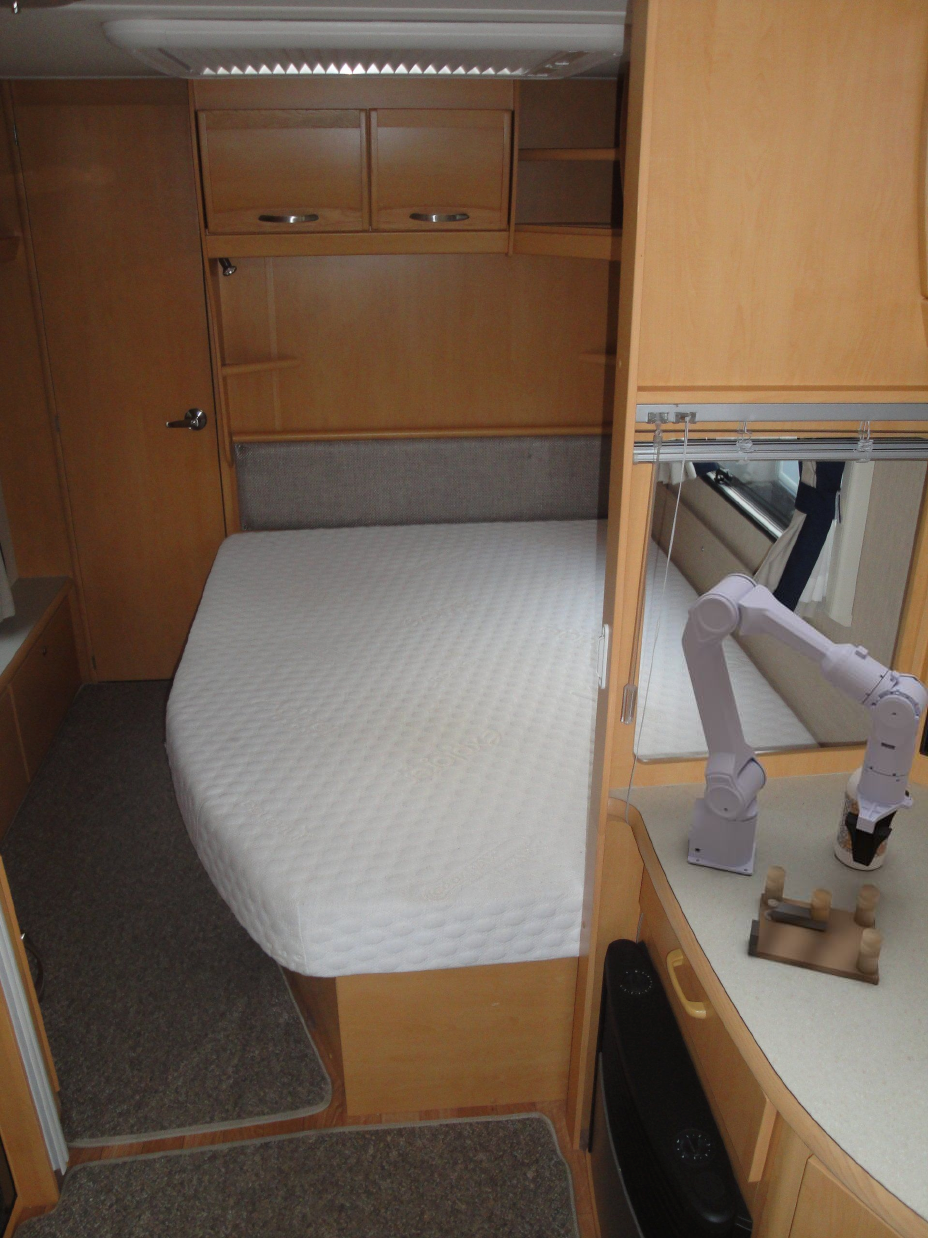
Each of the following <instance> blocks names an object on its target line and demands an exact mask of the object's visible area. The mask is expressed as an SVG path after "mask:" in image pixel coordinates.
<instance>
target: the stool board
mask: <svg viewBox="0 0 928 1238" xmlns="http://www.w3.org/2000/svg"><path fill="white" fill-rule="evenodd" d="M786 875H787V871H786V870H785V869H784V867H781V866H779V865H771V866H769V867H768V868H767V874H766V881H765V886H764V892H761V895H760V904H759V915H758V920H757V919H754V918H753V919H752V920H751V927H750V932H749V938H748V939H749V940H748V948H747V949H748V950H747V955H748V956H750V957H756V958H760V959H765V960H769V961H773V962H777V963H782V964H786V965H790V966H794V967H798V968H802V969H808V970H812V971H816V972H819V973H820V972H821V973H826V974H830V975H834V976H837V977H844V978H847V979H852V980H855V981H861V982H865V983H868V984H873V985H876V986H879V982H880V973H879V970H880V969H879V961H880V960H879V958H880V955H881V950H882V947H883V942H884V935H883V933H882V932H881V931H880V930H877V928H876V911H877V907H878V902H879V897H880V894H881V893H880V889H879V888H878V887H877V886H875V885H873V884H870V883H869V884H868V883H864V884H862V885H861V886H860V888H859V894H858V897H857V902H856V909H855V912H854V911H850V910H845V909H840V908H835V907H830V912H829V917H828V919H827V924H826V929H825V931H824V930H819V929H814V928H810V927H805V926H801V925H796V924H791V923H787V922H782V921H778V920H773V919H771V913H772V908H770V907H769V906H768V900H769V899H775V900H777V901H778V902H783V903H787V904H792V905H797V906H802V907H806V908H811V903H812V902H808V901H807V902H806V901H802V900H797V899H793V898H788V897H783V894H784V888H785V881H786V877H787V876H786Z"/></svg>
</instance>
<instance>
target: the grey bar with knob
mask: <svg viewBox="0 0 928 1238" xmlns="http://www.w3.org/2000/svg"><path fill="white" fill-rule="evenodd" d="M832 901H833V894H832V892H831V891H829V890H827V889H825V888H815V889H814V890H813V893H812V898H811V902H810V903H811V908H806V907H802V906H797V905H792V904H787V903H783V902H778V901H777V900H775V899H769V900H768V906H769V907H770V908H772V913H771V919H773V920H778V921H782V922H787V923H791V924H796V925H801V926H805V927H810V928H814V929H819V930H824V931H825V929H826V924H827V919H828V917H829V912H830V907H831V906H832ZM831 908H832V907H831Z"/></svg>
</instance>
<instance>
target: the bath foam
mask: <svg viewBox="0 0 928 1238" xmlns="http://www.w3.org/2000/svg"><path fill="white" fill-rule="evenodd" d="M862 766H863V764H862V765H861V766H860V767H858V768H857V769H856V770H855V771H854V772H853V773H852V775H851V776H850V777H849V779H848V782H847V784H846V787H845V791H844V797H843V801H842V802H843V803H842V807H841V811H840V813H841V814H840V819H839V824H838V829H837V835H836V839H835V840H836V841H835V847H834V853H835V855H836V856H837V858H838V860H840V862H842V863H844V864H845V865H847V866H848V867H851V868H854V869H856V870H862V871H872V870H875V869H877V868H880V867H881V866H882V865H883V863H884V860H885V855H886V851H887V846H888V841H889V838H890V835H889V836H888V838H887V839H886V840H884V841H883V842H882V843H881V844H880V846H879V847H878V849H877V852H876V854H875V856H874V858H873V860H872V862H871V864H870V865H869V866H868V867H867V866H865V865H862V864H859V863H856V862H854V861H853V857H852V845H851V837H850V834H849V831H848V829H847V827H846V825H845V818H846V816H847V814H848V812H849V811H850V812H853V813H856V814H859V809H858V803H857V797H856V787H857V785H858V784H859V781H860V776H861V771H862ZM892 823H893V821H892V822H891V824H890V826H889V828H892Z"/></svg>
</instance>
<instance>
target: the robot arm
mask: <svg viewBox="0 0 928 1238" xmlns="http://www.w3.org/2000/svg"><path fill="white" fill-rule="evenodd" d="M687 615H688V618H687V621H686V623H685V627H684V630H683V633H682V636H681V646H682V650H683V653H684V658H685V664H686V666H687V669H688V675H689V678H690V681H691V682H690V683H691V686H692V691H693V694H694V699H695V702H696V706H697V711H698V714H699V719H700V722H701V726H702V730H703V735H704V738H705V743H706V746H707V750H708V756H707V761H706V765H705V769H704V770H705V771H704V778H705V783H706V784H705V789H704V793H703V796H704V797H695V802H694V807H693V812H692V819H691V827H690V829H689V833H688V839H687V840H688V842H689V844H688V845H689V846H688V855H687V862H688V863H690V864H695V865H698V866H699V865H700V866H704V867H709V868H714V869H718V870H724V871H729V872H733V873H738V874H739V873H740V874H743V875H747V876H750V875H751V876H752V875H753V872H754V862H755V855H756V854H755V853H756V846H757V845H756V844H757V843H756V842H755V837H756V835H755V834H756V828H757V820H758V816H759V815H758V814H759V802H758V797H757V794H758V793H759V792H760V790H762V789H763V788H764V787H765V786H766V783H767V779H768V776H767V771H766V768H765V767H764V765H763V764H762V763H761V761H759V759H758V757H757V755H756V751H755V748H754V747H753V746H752V745H750V744H748V743H746V740H745V736H744V733H743V728H742V722H741V720H740V715H739V711H738V708H737V704H736V698H735V695H734V690H733V686H732V681H731V679H730V678H731V677H730V674H729V670H728V669H729V668H728V666H727V661H726V656H725V653H724V649H723V642H724V641H725V639H726V638H727V637H728V636H729V635H730V634H731V633H733V632H734V631H735V630H736V629H737V627H739V628H740V629H739V632H738V635H739V636H740V637H742V636H752V635H760V634H761V635H762V634H767V635H769V636H771V637H772V638H773V639H776V640H777V641H779V642H780V643H782V644H784V645H785V646H787V647H789V648H790V649H792V650H794V651H795V652H797V653H798V654H800V655H802V656H803V657H805V658H807V659H808V660H810V661H812V662H813V663H815V664H817V665H818V667H819V668H820V673H821V676H822V677H821V678H822V679H824V681H826V682H828V684H830V685H832V686H834V687H835V688H836V689H837V690H839V691H840V692H842V693H844V694H845V695H846V696H848V697H849V698H851V699H852V700H854V701H855V702H856V703H858V704H859V705H861V706H862V707H864V708H865V709H867V710H869V711H868V712H869V715H870V716H869V717H870V719H871V721H872V724H871V727H870V730H869V731H868V732H869V733H868V738H867V742H866V746H865V747H866V748H865V751H864V757H863V761H862V762H863V763H862V765H863V766H862V765H861V766H862V771H861V776H860V781H859V784H858V785H857V787H856V797H857V803H858V809H859V814H856V813H853V812H850V811H849V812H848V814H847V816H846V818H845V825H846V827H847V829H848V831H849V834H850V837H851V845H852V857H853V861H854V862H856V863H859V864H862V865H865V866H867V867H868V866H869V865H870V864H871V862H872V860H873V858H874V856H875V854H876V852H877V849H878V847H879V846H880V844H881V843H882V842H883V841H884V840H886V839H887V838H888V836H889V837H890V835H891V833H892V831H893V828H892V827H891V828H889V826H890V824H891V822H892V823H893V819H894V817H895V815H896V814H897V812H898V811H899V810H900V809H904V810H911V809H912V808H913V805H914V802H915V801H914V799H913V798H912V797H909V796H910V792H909V790H907V787H908V782H909V778H910V775H911V770H912V765H913V760H914V757H915V752H916V748H917V743H918V735H919V732H920V723H921V718H922V716H923V715H924V712H925V711H926V709H927V708H928V707H927V706H928V688H927V687H926V686H925V684H924V683H923V682H922V681H921V680H919V679H918V677H917V676H915V675H913V674H910V673H901V672H899V671H897V670H895V669H894V670H891V669H889V667H886V666H884V665H883V664H881V663H880V662H879V661H877V660H875V658H873V657H871V656H870V655H868V653H869V650H868V649H867V648H865V647H863V646H862V645H859V646H858V647H856V646H854V645H853V644H852V643H834V642H833V641H831V640H830V639H829V638H828V637H827V636H825V635H823V634H822V633H821V632H820V631H818V630H817V629H816V628H815V627H813V626H812V625H810V624H809V623H808V622H807V621H805V620H804V619H802V618H801V616H800V617H799V615H797V614H796V613H795V612H793V611H792V610H790V609H789V608H788V607H787V606H785V605H784V604H783V603H782V602H780V601H779V600H778V599H777V598H776V597H775V595H773V593H772V592H771V590H770V589H768V588H767V587H766V586H764V585H762V584H761V583H758V584H757V583H756V581H755V580H754V579H753V578H751V577H750V576H748V575H746V574H743V573H731V574H728V575H726V576H725V577H723V578H722V579H721V580H720V581H719V582H718V583H717V584H716V585H715V586H713V587H712V588H711V589H710V590H709V591H708V592H707V591H706V592H705V593H704V594H702V595H700V597H699V598H698V599H697V600H695V602H693V603H692V605H691V606H690V607H689V608H688V610H687ZM891 825H892V824H891ZM888 839H889V838H888Z"/></svg>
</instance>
